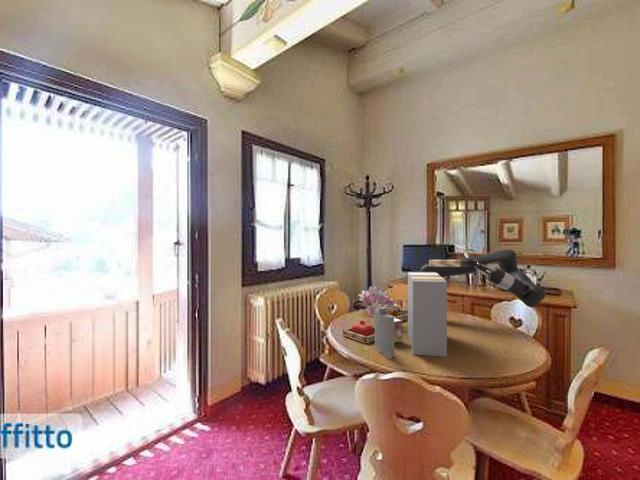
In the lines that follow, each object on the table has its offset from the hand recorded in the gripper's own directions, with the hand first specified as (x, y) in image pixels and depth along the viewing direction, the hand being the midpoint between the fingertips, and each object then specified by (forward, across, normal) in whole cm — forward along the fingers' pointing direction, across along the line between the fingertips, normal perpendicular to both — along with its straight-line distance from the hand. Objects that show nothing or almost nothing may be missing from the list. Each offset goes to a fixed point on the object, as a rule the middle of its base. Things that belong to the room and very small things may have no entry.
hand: (467, 260), depth 163 cm
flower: (+18, -19, +56) cm, 61 cm away
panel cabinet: (-2, +7, +44) cm, 45 cm away
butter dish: (+24, +1, +60) cm, 64 cm away
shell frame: (+12, -42, +52) cm, 68 cm away
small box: (+12, +7, +52) cm, 54 cm away
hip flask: (+15, +22, +54) cm, 60 cm away
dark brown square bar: (+4, 0, +6) cm, 7 cm away
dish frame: (+23, +2, +58) cm, 63 cm away
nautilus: (+12, -39, +52) cm, 66 cm away
